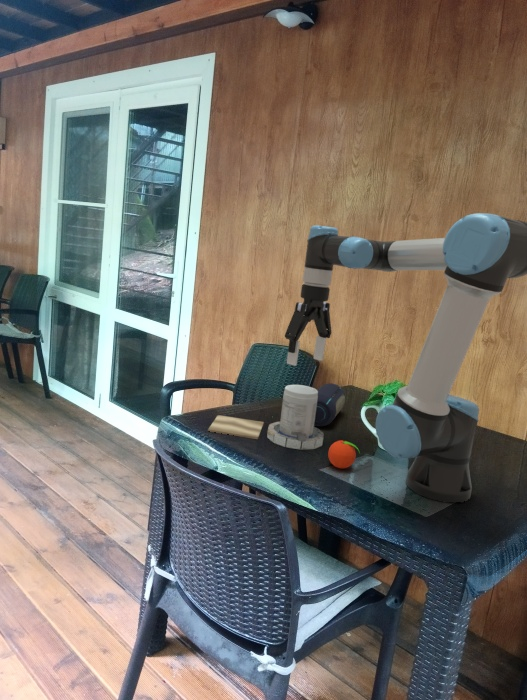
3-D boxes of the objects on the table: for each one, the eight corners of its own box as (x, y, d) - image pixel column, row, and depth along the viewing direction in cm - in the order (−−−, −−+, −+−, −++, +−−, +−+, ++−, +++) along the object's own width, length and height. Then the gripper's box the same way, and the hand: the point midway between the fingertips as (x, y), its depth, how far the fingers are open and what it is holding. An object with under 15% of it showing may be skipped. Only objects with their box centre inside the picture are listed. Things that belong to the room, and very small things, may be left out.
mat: (257, 439, 157) (257, 437, 157) (207, 431, 158) (208, 429, 158) (263, 424, 171) (263, 422, 170) (217, 416, 172) (217, 415, 172)
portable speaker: (330, 433, 170) (335, 400, 169) (298, 425, 173) (303, 394, 171) (345, 412, 194) (349, 384, 192) (316, 406, 197) (320, 378, 195)
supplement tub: (296, 431, 167) (302, 383, 165) (318, 442, 160) (326, 392, 158) (271, 435, 161) (277, 385, 159) (293, 447, 154) (300, 395, 151)
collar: (321, 453, 152) (323, 439, 151) (264, 444, 153) (266, 430, 153) (322, 434, 168) (324, 421, 167) (270, 425, 170) (272, 413, 169)
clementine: (360, 467, 146) (364, 440, 145) (355, 476, 140) (359, 449, 138) (329, 459, 148) (333, 433, 147) (323, 468, 142) (327, 441, 141)
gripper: (327, 283, 165) (317, 355, 169) (278, 282, 145) (267, 363, 149) (350, 287, 161) (339, 360, 165) (302, 286, 141) (291, 370, 145)
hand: (305, 362), depth 157 cm, fingers open, 13 cm apart
